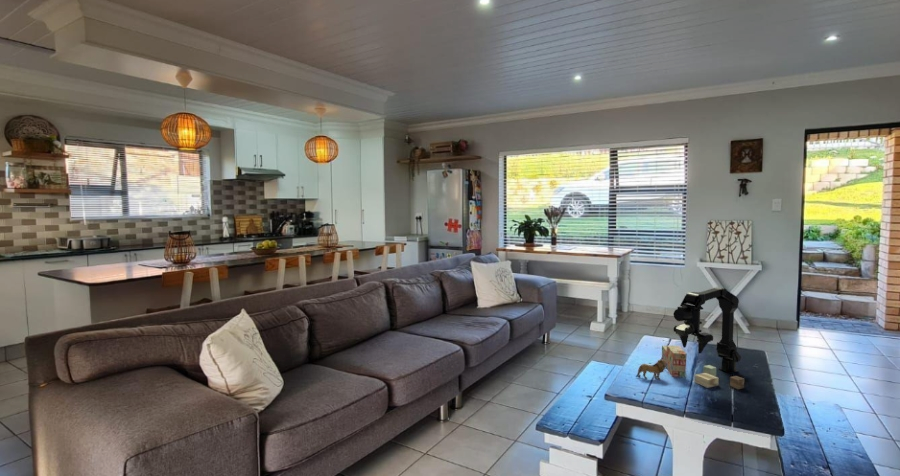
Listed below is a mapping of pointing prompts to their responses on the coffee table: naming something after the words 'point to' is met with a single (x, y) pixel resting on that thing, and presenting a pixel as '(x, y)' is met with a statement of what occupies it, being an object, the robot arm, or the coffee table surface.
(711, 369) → the sage block
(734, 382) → the walnut block
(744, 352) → the coffee table surface
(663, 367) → the lion figurine
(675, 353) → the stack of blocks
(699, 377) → the oak block
